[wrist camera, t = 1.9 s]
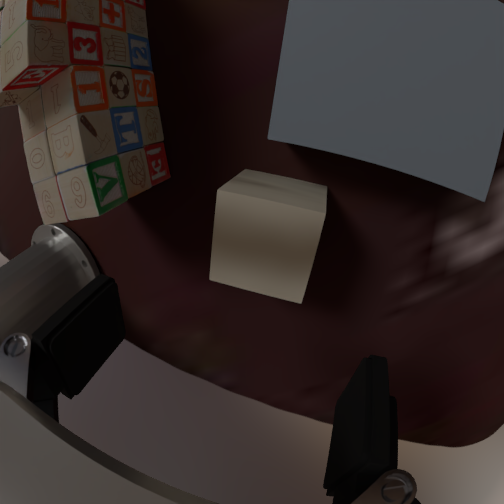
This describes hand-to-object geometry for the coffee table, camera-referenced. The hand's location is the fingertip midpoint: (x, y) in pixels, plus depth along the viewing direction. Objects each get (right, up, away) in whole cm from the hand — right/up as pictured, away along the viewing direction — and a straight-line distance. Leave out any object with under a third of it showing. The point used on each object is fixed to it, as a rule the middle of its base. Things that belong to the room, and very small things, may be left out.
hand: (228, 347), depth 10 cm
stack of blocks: (-10, +19, +10) cm, 23 cm away
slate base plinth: (+10, +16, +5) cm, 20 cm away
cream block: (+3, +6, +12) cm, 14 cm away
